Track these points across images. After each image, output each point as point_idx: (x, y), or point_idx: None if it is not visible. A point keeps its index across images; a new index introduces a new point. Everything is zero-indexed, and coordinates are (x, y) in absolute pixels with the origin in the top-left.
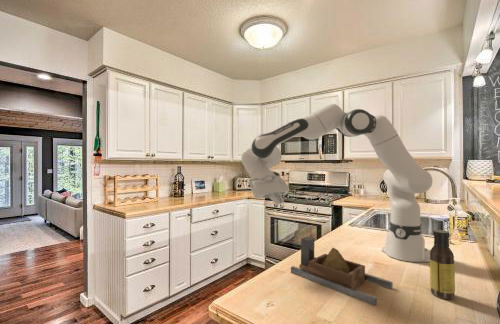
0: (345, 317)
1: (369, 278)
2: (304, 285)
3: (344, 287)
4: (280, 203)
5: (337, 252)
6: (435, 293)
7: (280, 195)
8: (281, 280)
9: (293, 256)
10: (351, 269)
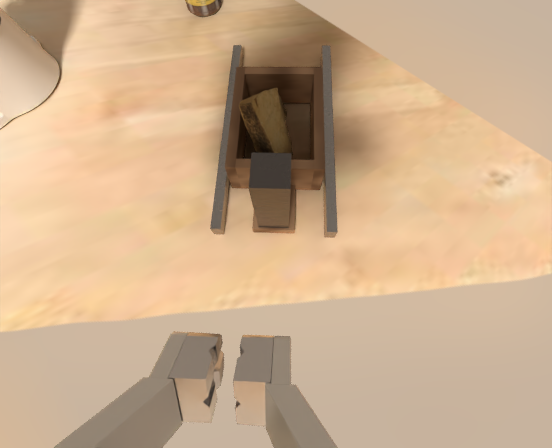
0: (403, 73)
1: None
2: (367, 172)
3: (331, 93)
4: (222, 353)
5: (265, 91)
6: (218, 5)
7: (115, 428)
8: (395, 226)
9: (217, 308)
10: None
